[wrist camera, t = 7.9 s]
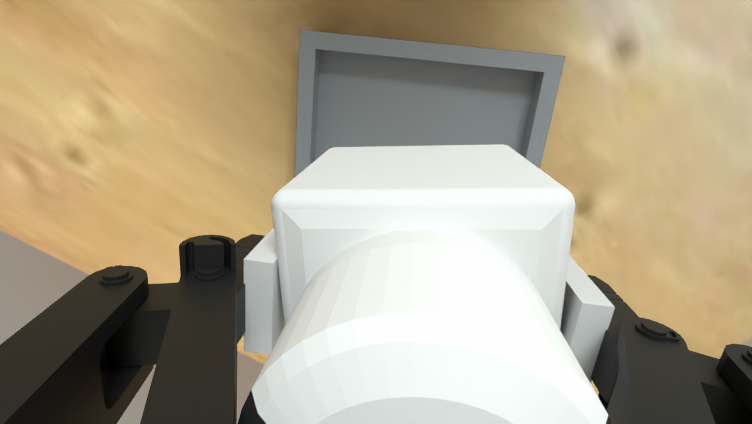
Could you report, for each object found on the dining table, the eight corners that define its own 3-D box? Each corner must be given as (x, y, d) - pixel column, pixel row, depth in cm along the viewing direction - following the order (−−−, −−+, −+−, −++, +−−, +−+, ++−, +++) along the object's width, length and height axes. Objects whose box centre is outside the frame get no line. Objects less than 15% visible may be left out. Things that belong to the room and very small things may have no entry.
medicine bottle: (499, 307, 18) (644, 704, 7) (337, 304, 19) (215, 659, 7) (511, 142, 16) (757, 311, 4) (326, 145, 16) (129, 298, 5)
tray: (300, 252, 33) (291, 265, 30) (309, 33, 28) (299, 29, 25) (503, 277, 32) (511, 293, 30) (552, 57, 27) (565, 55, 25)
